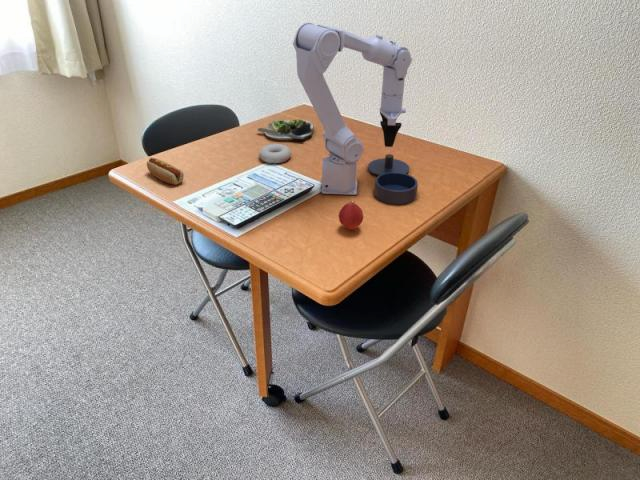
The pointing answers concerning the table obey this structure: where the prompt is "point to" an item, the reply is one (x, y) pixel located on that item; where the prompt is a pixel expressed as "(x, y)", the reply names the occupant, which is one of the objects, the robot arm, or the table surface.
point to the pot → (395, 188)
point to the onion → (351, 215)
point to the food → (165, 171)
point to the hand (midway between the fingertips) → (388, 141)
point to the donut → (275, 153)
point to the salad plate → (289, 130)
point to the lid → (387, 165)
